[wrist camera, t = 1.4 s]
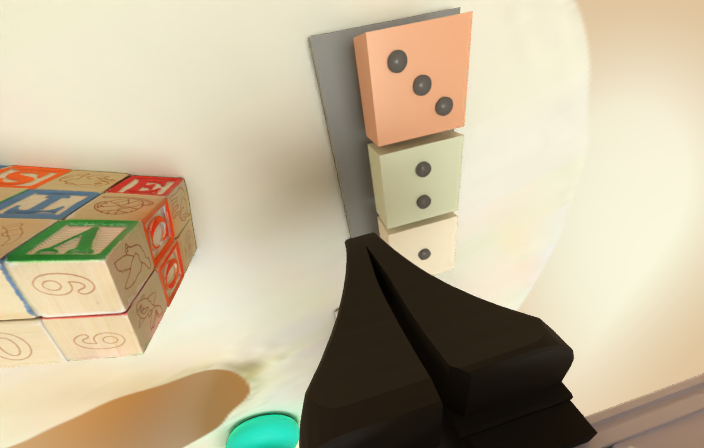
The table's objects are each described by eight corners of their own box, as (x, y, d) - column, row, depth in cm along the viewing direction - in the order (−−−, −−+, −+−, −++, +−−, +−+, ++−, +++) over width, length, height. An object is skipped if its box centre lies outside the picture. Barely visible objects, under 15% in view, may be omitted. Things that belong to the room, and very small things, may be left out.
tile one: (438, 249, 22) (455, 270, 20) (383, 265, 22) (395, 288, 20) (439, 200, 20) (459, 217, 17) (377, 216, 19) (389, 236, 17)
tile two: (439, 194, 19) (459, 211, 17) (376, 211, 19) (388, 230, 17) (441, 126, 17) (465, 135, 14) (367, 144, 16) (380, 156, 14)
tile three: (441, 118, 16) (466, 127, 14) (366, 136, 16) (379, 147, 14) (443, 19, 13) (475, 10, 11) (353, 37, 13) (367, 31, 11)
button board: (442, 231, 25) (460, 249, 23) (355, 255, 24) (362, 277, 22) (451, 10, 16) (481, 0, 13) (308, 38, 15) (312, 32, 12)
